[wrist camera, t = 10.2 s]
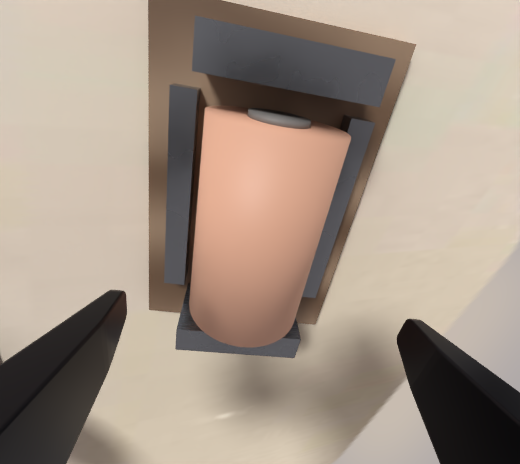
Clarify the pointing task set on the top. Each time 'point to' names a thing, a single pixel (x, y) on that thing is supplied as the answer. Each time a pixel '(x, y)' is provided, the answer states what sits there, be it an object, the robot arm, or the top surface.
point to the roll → (259, 219)
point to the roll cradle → (255, 96)
